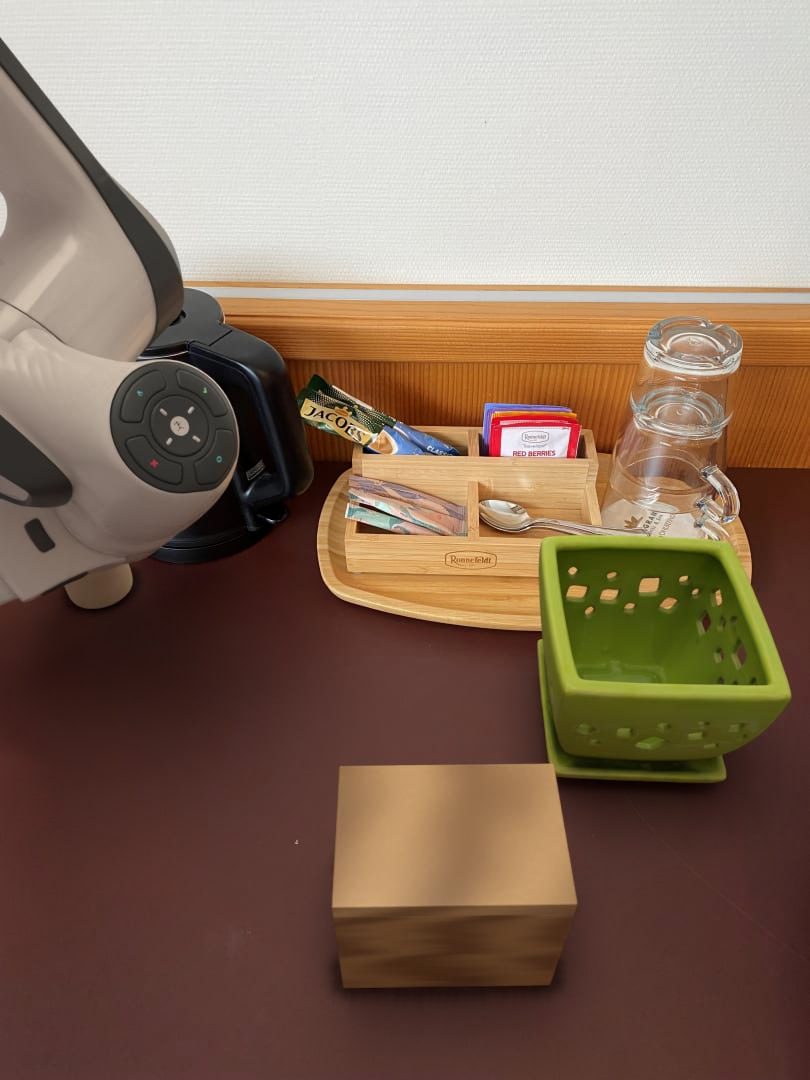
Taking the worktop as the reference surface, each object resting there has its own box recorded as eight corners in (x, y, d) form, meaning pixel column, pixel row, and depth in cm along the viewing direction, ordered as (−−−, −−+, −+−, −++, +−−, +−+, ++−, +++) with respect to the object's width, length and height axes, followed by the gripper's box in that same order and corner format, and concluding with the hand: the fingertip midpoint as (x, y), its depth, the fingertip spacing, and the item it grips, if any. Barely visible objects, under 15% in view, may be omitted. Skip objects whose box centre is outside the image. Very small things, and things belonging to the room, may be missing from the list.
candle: (55, 592, 69) (17, 504, 63) (105, 556, 73) (74, 469, 66) (96, 619, 67) (62, 531, 60) (146, 581, 70) (119, 493, 64)
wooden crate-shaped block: (343, 988, 46) (331, 907, 39) (348, 857, 52) (339, 765, 44) (550, 985, 46) (578, 904, 39) (532, 855, 52) (554, 763, 44)
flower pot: (534, 804, 55) (558, 691, 46) (519, 646, 65) (536, 530, 56) (740, 809, 54) (803, 697, 46) (692, 650, 64) (736, 534, 56)
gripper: (218, 397, 59) (170, 450, 71) (-57, 528, 49) (-60, 565, 60) (262, 470, 60) (208, 510, 72) (1, 615, 49) (-13, 635, 61)
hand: (84, 536), depth 66 cm, fingers open, 8 cm apart
